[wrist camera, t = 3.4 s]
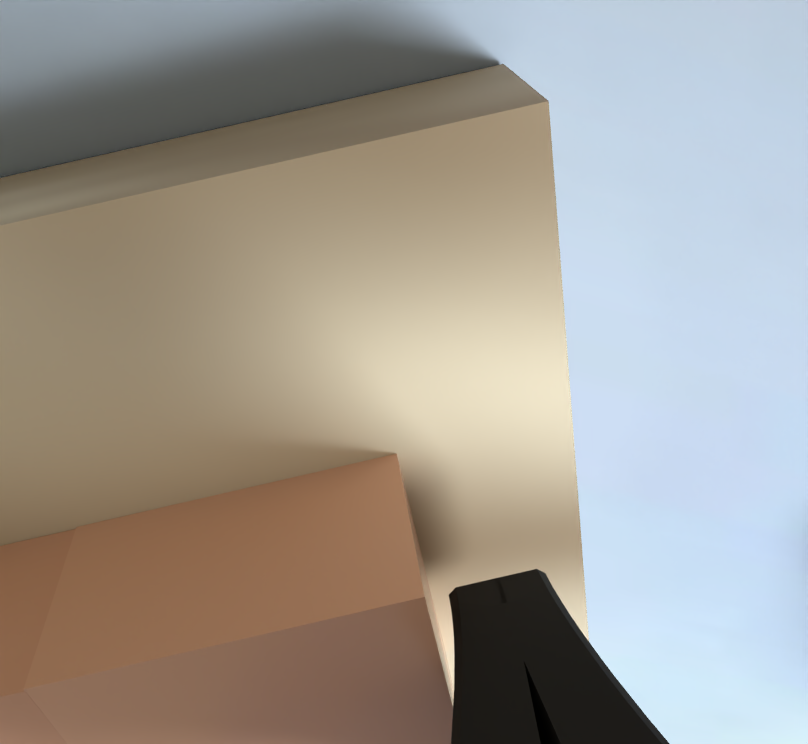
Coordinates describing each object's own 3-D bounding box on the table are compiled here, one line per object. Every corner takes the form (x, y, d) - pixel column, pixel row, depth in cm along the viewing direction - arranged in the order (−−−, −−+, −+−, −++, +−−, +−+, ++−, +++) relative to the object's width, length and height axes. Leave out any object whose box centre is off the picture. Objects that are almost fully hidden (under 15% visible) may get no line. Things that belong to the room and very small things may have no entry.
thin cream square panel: (566, 665, 17) (597, 751, 15) (43, 787, 17) (16, 886, 15) (503, 64, 10) (547, 101, 8) (-414, 272, 10) (-563, 352, 8)
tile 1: (445, 651, 13) (476, 800, 11) (187, 711, 13) (168, 872, 11) (396, 453, 10) (424, 596, 8) (76, 526, 10) (23, 689, 8)
